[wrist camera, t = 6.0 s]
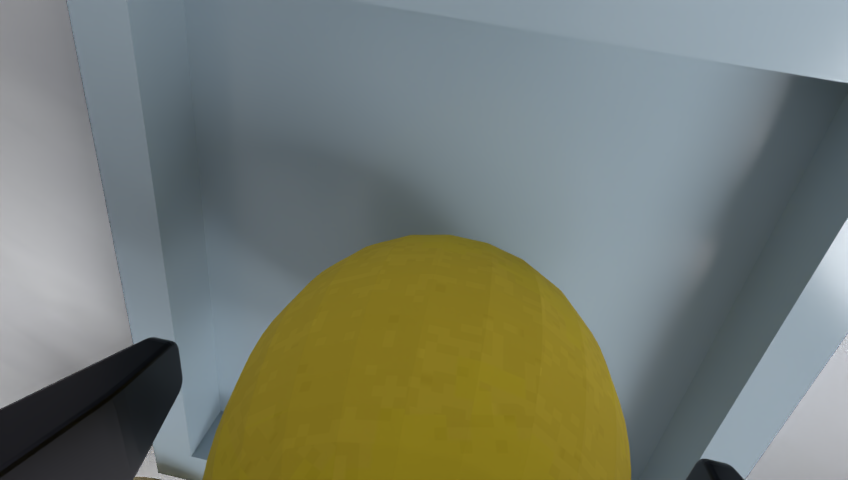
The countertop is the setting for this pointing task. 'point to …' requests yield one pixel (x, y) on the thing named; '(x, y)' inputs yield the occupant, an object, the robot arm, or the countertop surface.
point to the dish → (490, 183)
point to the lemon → (424, 376)
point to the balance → (144, 478)
